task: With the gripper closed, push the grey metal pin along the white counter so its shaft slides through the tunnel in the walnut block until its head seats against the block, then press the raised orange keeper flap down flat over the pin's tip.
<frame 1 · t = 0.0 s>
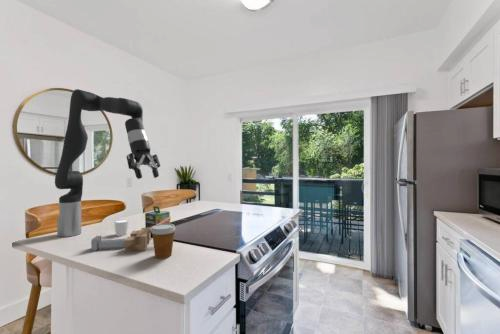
hand: (148, 177, 100), 31 cm above the counter, tool tilted 20°, fingers open, 8 cm apart
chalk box: (157, 234, 127), on the counter
white cup: (122, 234, 125), on the counter
hitch block: (138, 245, 108), on the counter
keeper flap: (160, 224, 110), point 9 cm above the counter, hinge at 30.0°
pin: (96, 249, 104), on the counter
disposable coffee cup: (163, 256, 96), on the counter
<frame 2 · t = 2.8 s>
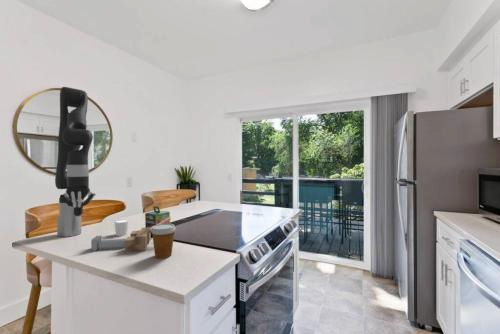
hand: (78, 215, 102), 15 cm above the counter, tool pointing down, fingers closed
nothing on the counter moved.
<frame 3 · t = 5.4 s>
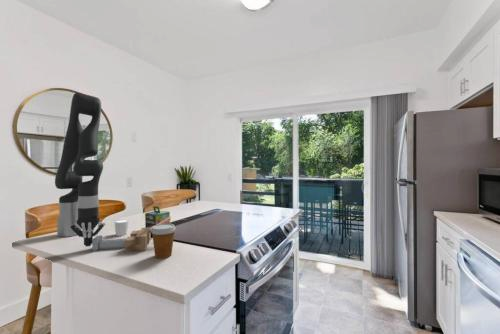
hand: (88, 245, 103), 2 cm above the counter, tool pointing down, fingers closed
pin: (97, 248, 104), on the counter, touching gripper
everything else where it was.
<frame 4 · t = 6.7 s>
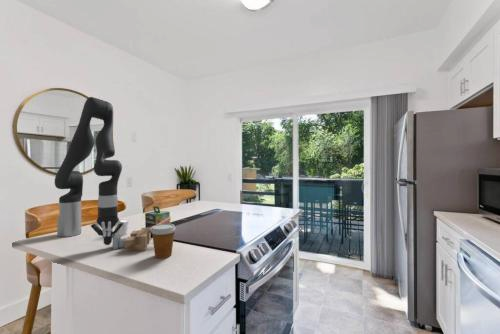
hand: (107, 244, 104), 2 cm above the counter, tool pointing down, fingers closed
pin: (116, 247, 106), on the counter, touching gripper
everything else where it was.
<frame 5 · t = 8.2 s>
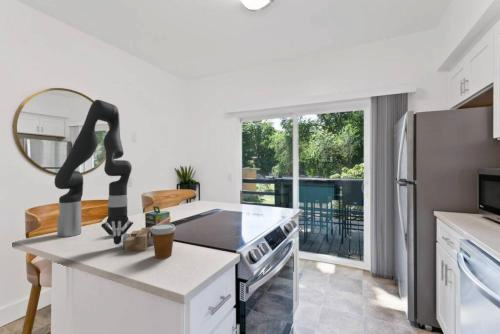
hand: (117, 243, 105), 2 cm above the counter, tool pointing down, fingers closed
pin: (126, 246, 107), on the counter, touching gripper, hitch block
everything else where it was.
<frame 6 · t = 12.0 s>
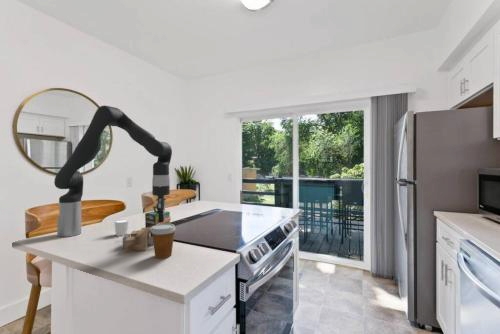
hand: (161, 221, 110), 10 cm above the counter, tool pointing down, fingers closed
keeper flap: (160, 224, 110), point 9 cm above the counter, hinge at 30.0°, touching gripper
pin: (126, 246, 107), on the counter
everything else where it was.
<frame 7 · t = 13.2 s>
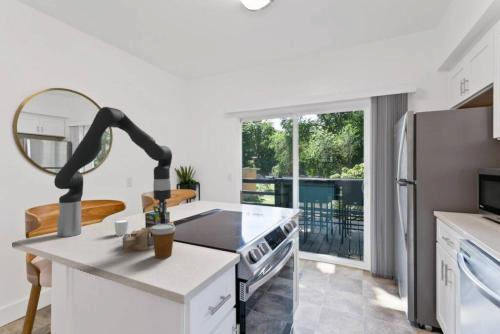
hand: (163, 225, 110), 8 cm above the counter, tool pointing down, fingers closed
keeper flap: (161, 227, 110), point 8 cm above the counter, hinge at 12.1°, touching gripper
everything else where it was.
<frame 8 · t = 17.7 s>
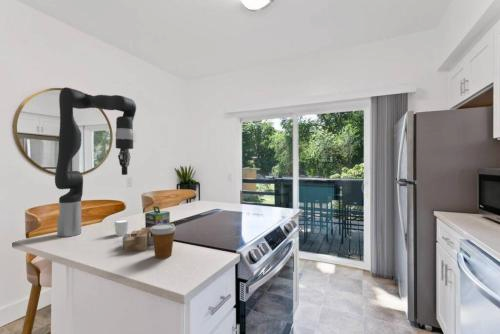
hand: (124, 174, 114), 32 cm above the counter, tool pointing down, fingers closed
keeper flap: (161, 227, 110), point 7 cm above the counter, hinge at 8.4°
everything else where it was.
at the end: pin 0.6 cm from the target spot, on the counter; keeper flap at +8° (first picture: +30°) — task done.
